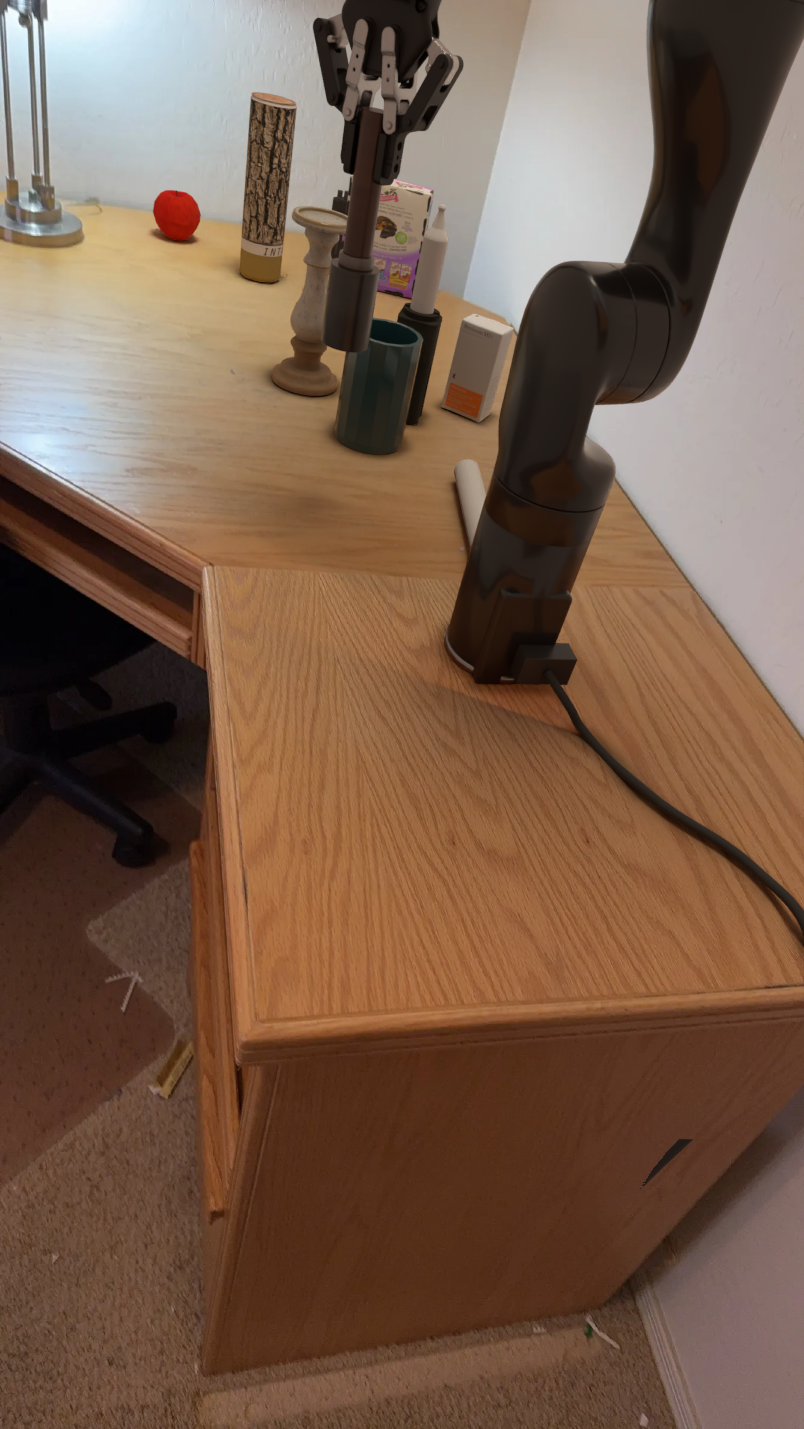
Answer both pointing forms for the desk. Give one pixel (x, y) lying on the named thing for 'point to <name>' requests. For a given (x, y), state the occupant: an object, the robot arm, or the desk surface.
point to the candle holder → (311, 306)
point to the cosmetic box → (477, 367)
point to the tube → (470, 494)
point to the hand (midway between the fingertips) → (368, 177)
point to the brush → (356, 250)
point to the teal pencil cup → (378, 389)
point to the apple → (176, 214)
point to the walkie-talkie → (340, 206)
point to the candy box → (399, 234)
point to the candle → (426, 308)
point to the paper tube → (266, 185)
